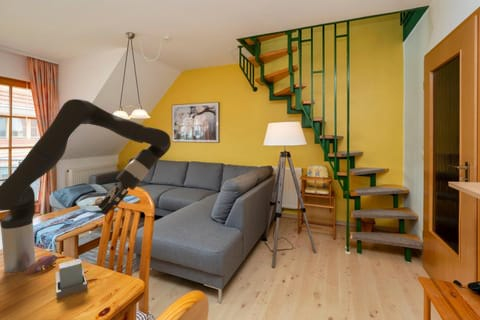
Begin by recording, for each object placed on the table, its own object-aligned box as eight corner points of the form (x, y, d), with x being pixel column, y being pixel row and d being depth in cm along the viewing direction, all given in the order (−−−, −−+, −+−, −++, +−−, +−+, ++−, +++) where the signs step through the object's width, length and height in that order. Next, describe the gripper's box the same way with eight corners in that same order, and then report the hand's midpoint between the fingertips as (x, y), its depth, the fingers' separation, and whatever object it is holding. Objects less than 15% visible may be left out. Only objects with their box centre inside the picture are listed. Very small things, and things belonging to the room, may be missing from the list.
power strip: (56, 281, 87) (55, 270, 86) (82, 273, 92) (82, 263, 91) (57, 303, 75) (56, 291, 75) (87, 293, 80) (86, 281, 80)
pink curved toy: (30, 282, 89) (36, 266, 88) (21, 275, 90) (27, 260, 88) (56, 268, 99) (61, 254, 98) (47, 262, 99) (52, 248, 98)
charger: (60, 288, 80) (58, 263, 80) (81, 282, 84) (80, 258, 83) (60, 294, 77) (59, 269, 76) (83, 287, 81) (81, 263, 80)
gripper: (121, 166, 95) (90, 201, 89) (128, 169, 83) (93, 209, 78) (136, 178, 99) (107, 212, 93) (146, 182, 87) (113, 221, 81)
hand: (101, 210), depth 85 cm, fingers open, 8 cm apart
